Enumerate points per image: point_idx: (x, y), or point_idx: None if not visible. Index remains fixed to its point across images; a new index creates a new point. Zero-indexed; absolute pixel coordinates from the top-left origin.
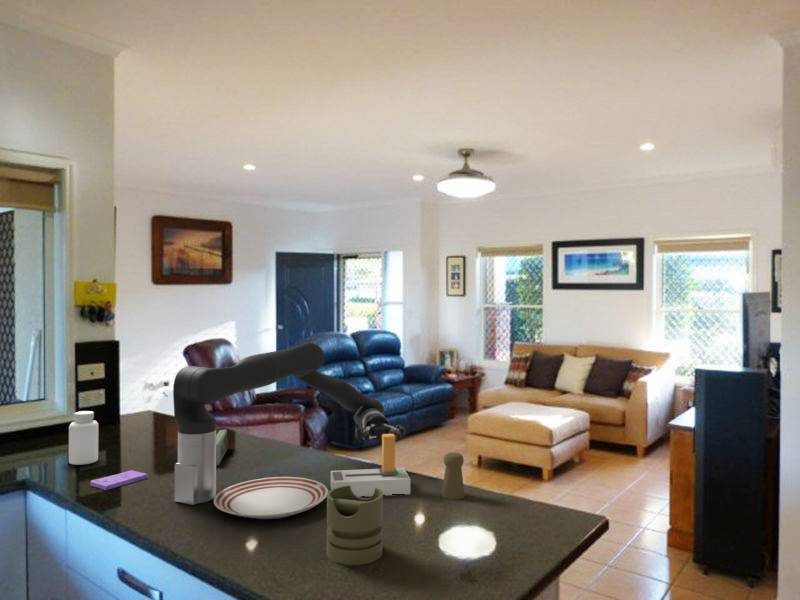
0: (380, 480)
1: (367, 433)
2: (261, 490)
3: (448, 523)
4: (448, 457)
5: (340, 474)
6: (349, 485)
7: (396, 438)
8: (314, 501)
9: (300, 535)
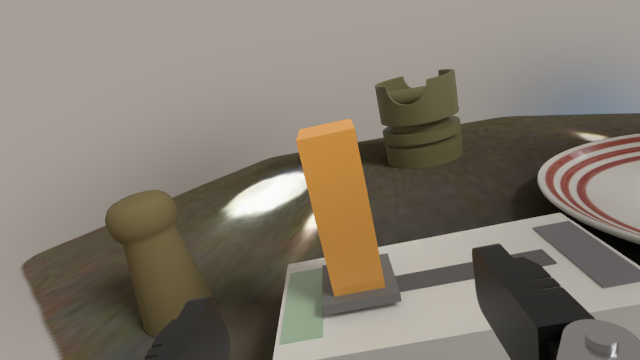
0: (391, 245)
1: (502, 260)
2: None
3: (272, 215)
4: (165, 192)
5: (580, 260)
6: (427, 79)
7: (222, 342)
8: (575, 196)
9: (527, 159)
